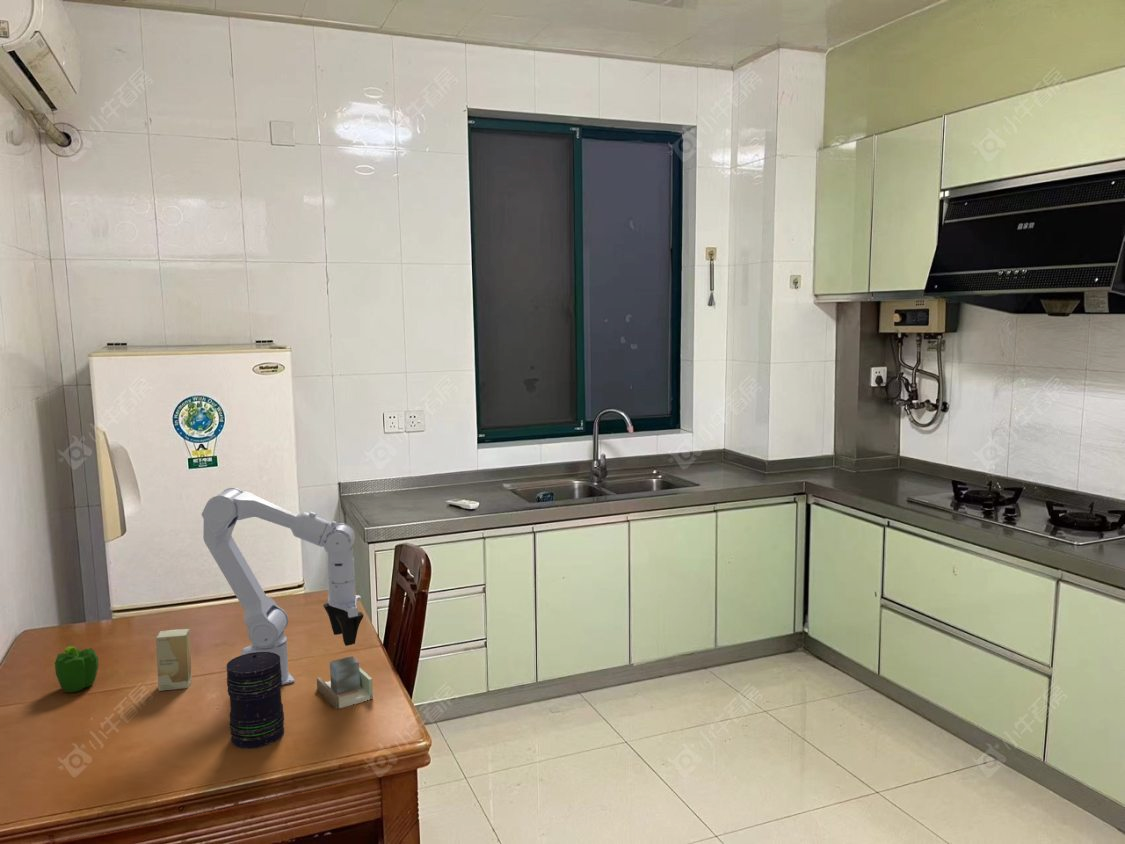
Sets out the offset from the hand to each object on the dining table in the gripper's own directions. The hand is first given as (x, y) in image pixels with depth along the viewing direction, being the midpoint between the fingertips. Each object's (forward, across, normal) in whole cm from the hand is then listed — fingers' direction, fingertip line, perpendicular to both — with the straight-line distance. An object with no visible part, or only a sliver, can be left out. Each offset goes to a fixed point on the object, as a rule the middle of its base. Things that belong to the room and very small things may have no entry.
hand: (344, 639), depth 183 cm
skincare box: (+9, +17, +32) cm, 38 cm away
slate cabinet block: (+8, -8, +3) cm, 12 cm away
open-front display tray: (+9, -8, +3) cm, 12 cm away
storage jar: (+9, -16, +23) cm, 29 cm away
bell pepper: (+9, +29, +51) cm, 59 cm away
